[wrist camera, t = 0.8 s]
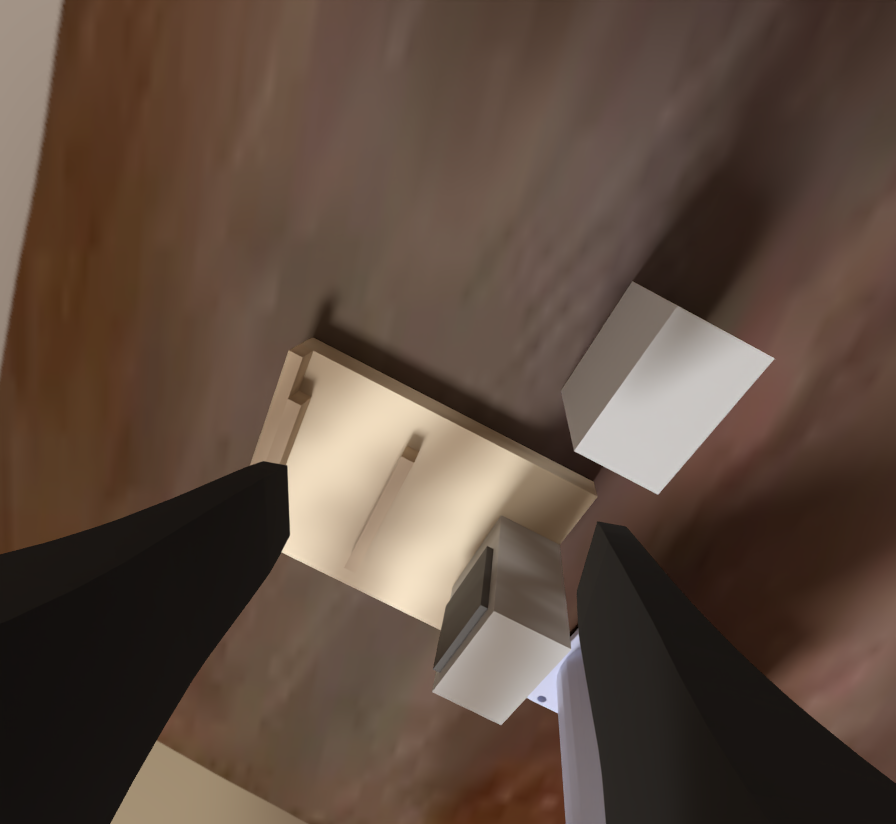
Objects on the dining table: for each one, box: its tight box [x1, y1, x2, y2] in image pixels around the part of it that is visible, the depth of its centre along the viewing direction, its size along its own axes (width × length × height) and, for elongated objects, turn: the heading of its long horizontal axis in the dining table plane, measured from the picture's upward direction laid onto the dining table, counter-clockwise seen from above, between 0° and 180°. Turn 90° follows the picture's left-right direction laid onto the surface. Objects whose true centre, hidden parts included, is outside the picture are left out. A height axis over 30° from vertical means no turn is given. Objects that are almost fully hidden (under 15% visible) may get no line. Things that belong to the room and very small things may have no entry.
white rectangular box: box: [561, 281, 775, 494], centre depth 16 cm, size 3×5×6 cm, turn 154°
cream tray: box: [250, 337, 597, 725], centre depth 19 cm, size 14×11×7 cm
